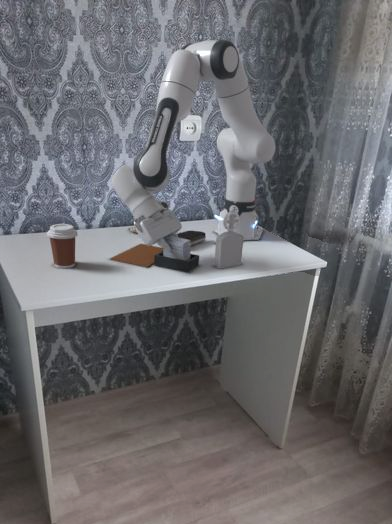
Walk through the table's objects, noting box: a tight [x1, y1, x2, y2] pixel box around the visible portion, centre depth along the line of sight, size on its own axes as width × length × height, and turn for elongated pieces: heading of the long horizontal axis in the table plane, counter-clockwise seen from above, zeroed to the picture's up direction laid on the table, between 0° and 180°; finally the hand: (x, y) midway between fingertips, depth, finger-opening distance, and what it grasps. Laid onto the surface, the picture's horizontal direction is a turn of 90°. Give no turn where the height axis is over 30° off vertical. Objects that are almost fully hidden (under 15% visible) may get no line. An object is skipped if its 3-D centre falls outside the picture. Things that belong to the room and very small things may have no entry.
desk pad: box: [109, 243, 163, 268], centre depth 167 cm, size 20×14×1 cm
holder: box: [153, 251, 200, 274], centre depth 159 cm, size 8×12×4 cm
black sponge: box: [177, 230, 207, 246], centre depth 180 cm, size 16×8×4 cm, turn 143°
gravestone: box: [213, 210, 244, 270], centre depth 159 cm, size 3×9×18 cm, turn 127°
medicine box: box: [163, 236, 192, 261], centre depth 158 cm, size 8×4×9 cm, turn 56°
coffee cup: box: [46, 223, 78, 269], centre depth 152 cm, size 9×9×12 cm
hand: (175, 248), depth 158 cm, fingers closed on medicine box, 5 cm apart
